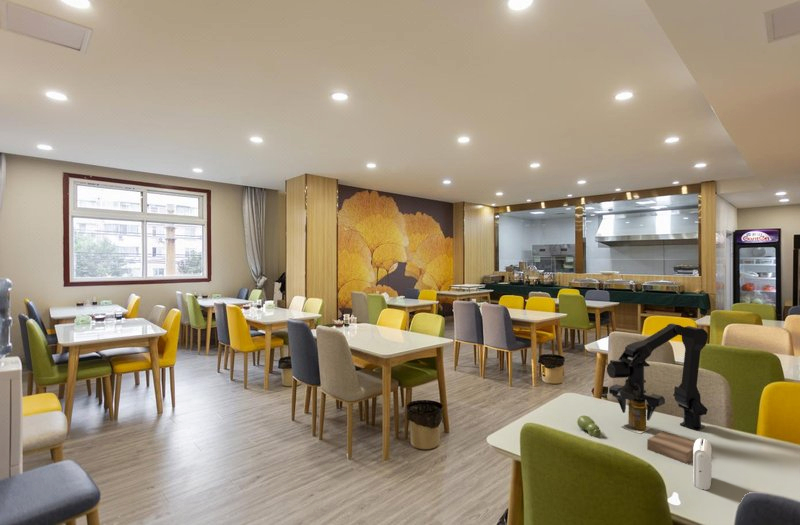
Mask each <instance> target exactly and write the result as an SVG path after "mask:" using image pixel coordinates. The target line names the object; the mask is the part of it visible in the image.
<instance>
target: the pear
mask: <svg viewBox="0 0 800 525" xmlns="http://www.w3.org/2000/svg"><path fill="white" fill-rule="evenodd" d="M576 423H577V426H578V427H579V428H580V429H581V430H584V431H587V433H588V435H589V436H591V437H600V436H601V433H602V431H601V429H600V427H599V426H598V424H596V422H595V421H594V419H592V418H591V417H590V416H587V415H585V414H584V415H580V416H579V417H578V418H577V422H576Z"/></svg>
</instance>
